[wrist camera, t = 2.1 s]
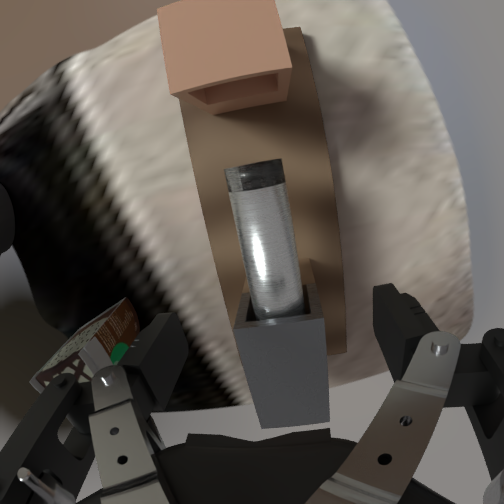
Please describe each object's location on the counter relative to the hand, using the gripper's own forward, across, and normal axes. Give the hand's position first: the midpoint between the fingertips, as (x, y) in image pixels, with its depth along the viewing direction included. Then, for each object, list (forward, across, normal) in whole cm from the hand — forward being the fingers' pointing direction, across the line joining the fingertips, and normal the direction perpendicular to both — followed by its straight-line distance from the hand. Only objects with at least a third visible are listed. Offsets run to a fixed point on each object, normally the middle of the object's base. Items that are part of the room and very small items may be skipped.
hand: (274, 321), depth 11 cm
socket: (+12, 0, -12) cm, 17 cm away
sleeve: (+7, 0, +7) cm, 10 cm away
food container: (+13, +19, +8) cm, 24 cm away
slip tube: (+7, 0, +3) cm, 7 cm away
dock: (+13, 0, -2) cm, 13 cm away
